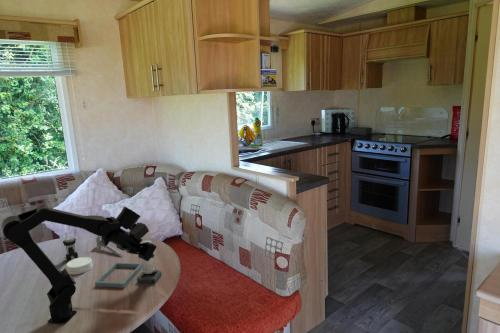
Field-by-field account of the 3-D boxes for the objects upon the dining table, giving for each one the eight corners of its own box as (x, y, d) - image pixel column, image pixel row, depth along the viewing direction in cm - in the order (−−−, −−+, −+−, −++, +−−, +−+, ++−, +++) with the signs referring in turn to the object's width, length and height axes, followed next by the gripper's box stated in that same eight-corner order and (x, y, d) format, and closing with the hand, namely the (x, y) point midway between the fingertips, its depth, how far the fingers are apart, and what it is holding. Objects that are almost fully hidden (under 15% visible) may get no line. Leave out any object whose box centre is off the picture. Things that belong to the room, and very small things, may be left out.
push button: (63, 263, 155) (60, 243, 152) (61, 259, 159) (58, 239, 156) (79, 259, 159) (76, 238, 156) (77, 255, 163) (74, 235, 161)
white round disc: (80, 276, 143) (78, 268, 142) (61, 273, 146) (60, 265, 146) (97, 265, 152) (96, 257, 152) (80, 262, 156) (78, 255, 155)
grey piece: (154, 287, 132) (153, 281, 132) (134, 287, 133) (133, 280, 133) (164, 274, 142) (163, 268, 141) (145, 273, 143) (145, 268, 142)
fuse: (151, 274, 134) (148, 245, 132) (141, 273, 135) (138, 245, 133) (156, 268, 139) (153, 240, 136) (146, 268, 139) (143, 240, 137)
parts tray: (124, 289, 132) (124, 283, 131) (95, 288, 134) (94, 282, 133) (143, 268, 147) (142, 263, 147) (116, 267, 149) (116, 262, 149)
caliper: (97, 247, 171) (95, 235, 170) (99, 246, 172) (97, 234, 170) (121, 257, 159) (119, 245, 158) (123, 256, 160) (121, 244, 158)
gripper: (149, 224, 123) (175, 242, 134) (120, 214, 135) (146, 231, 145) (132, 252, 119) (161, 269, 130) (103, 240, 130) (132, 256, 141)
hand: (150, 255), depth 137 cm, fingers closed on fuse, 4 cm apart
